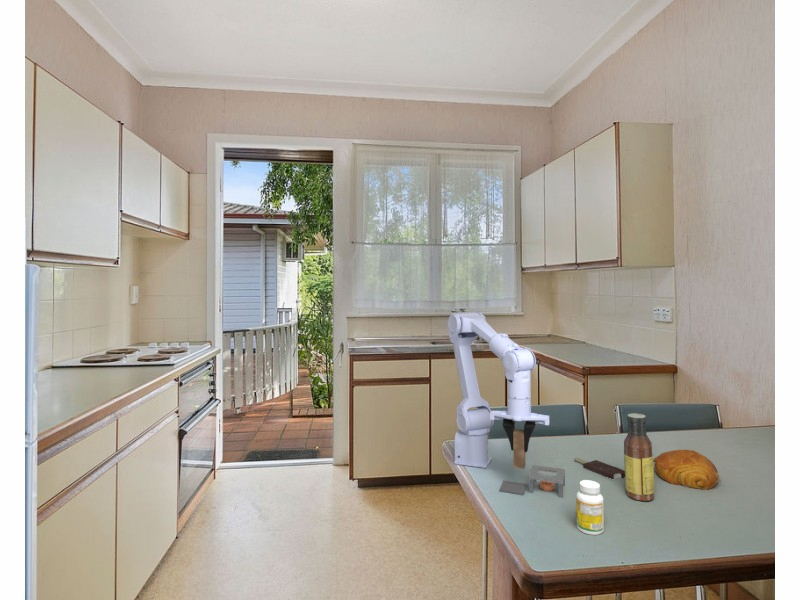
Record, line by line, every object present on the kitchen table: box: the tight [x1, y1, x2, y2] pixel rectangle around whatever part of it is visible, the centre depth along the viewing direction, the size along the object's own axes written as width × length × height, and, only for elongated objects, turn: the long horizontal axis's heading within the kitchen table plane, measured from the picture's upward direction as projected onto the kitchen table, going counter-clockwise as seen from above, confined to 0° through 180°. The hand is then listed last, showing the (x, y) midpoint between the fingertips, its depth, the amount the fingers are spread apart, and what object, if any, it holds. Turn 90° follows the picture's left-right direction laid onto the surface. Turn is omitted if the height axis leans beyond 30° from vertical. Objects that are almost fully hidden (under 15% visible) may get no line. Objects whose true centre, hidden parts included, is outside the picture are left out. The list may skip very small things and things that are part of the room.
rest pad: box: [498, 479, 528, 496], centre depth 116 cm, size 6×6×1 cm
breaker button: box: [539, 480, 555, 492], centre depth 115 cm, size 3×3×2 cm
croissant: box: [653, 449, 719, 490], centre depth 121 cm, size 14×16×8 cm
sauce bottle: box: [623, 412, 655, 502], centre depth 110 cm, size 7×6×20 cm
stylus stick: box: [512, 428, 526, 470], centre depth 115 cm, size 3×3×9 cm
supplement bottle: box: [575, 479, 605, 536], centre depth 96 cm, size 5×5×10 cm
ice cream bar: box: [574, 457, 625, 480], centre depth 127 cm, size 5×2×15 cm
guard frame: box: [528, 464, 566, 499], centre depth 115 cm, size 8×8×4 cm
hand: (519, 449), depth 116 cm, fingers closed on stylus stick, 3 cm apart
